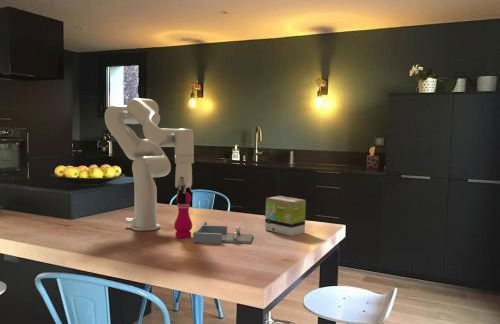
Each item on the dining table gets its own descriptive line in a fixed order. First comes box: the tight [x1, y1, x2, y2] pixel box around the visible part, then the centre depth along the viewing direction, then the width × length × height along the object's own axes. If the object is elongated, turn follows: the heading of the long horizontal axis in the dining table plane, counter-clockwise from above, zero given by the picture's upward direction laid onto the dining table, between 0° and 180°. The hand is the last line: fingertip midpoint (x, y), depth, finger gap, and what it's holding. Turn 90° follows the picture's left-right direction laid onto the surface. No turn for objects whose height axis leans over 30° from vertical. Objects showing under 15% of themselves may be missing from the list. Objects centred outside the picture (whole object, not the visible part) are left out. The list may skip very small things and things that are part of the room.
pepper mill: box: [173, 190, 193, 239], centre depth 181 cm, size 7×7×20 cm
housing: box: [192, 221, 228, 244], centre depth 184 cm, size 11×23×4 cm, turn 175°
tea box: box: [264, 195, 307, 237], centre depth 195 cm, size 15×10×15 cm
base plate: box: [221, 226, 254, 245], centre depth 179 cm, size 12×12×4 cm
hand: (184, 201), depth 181 cm, fingers open, 9 cm apart
